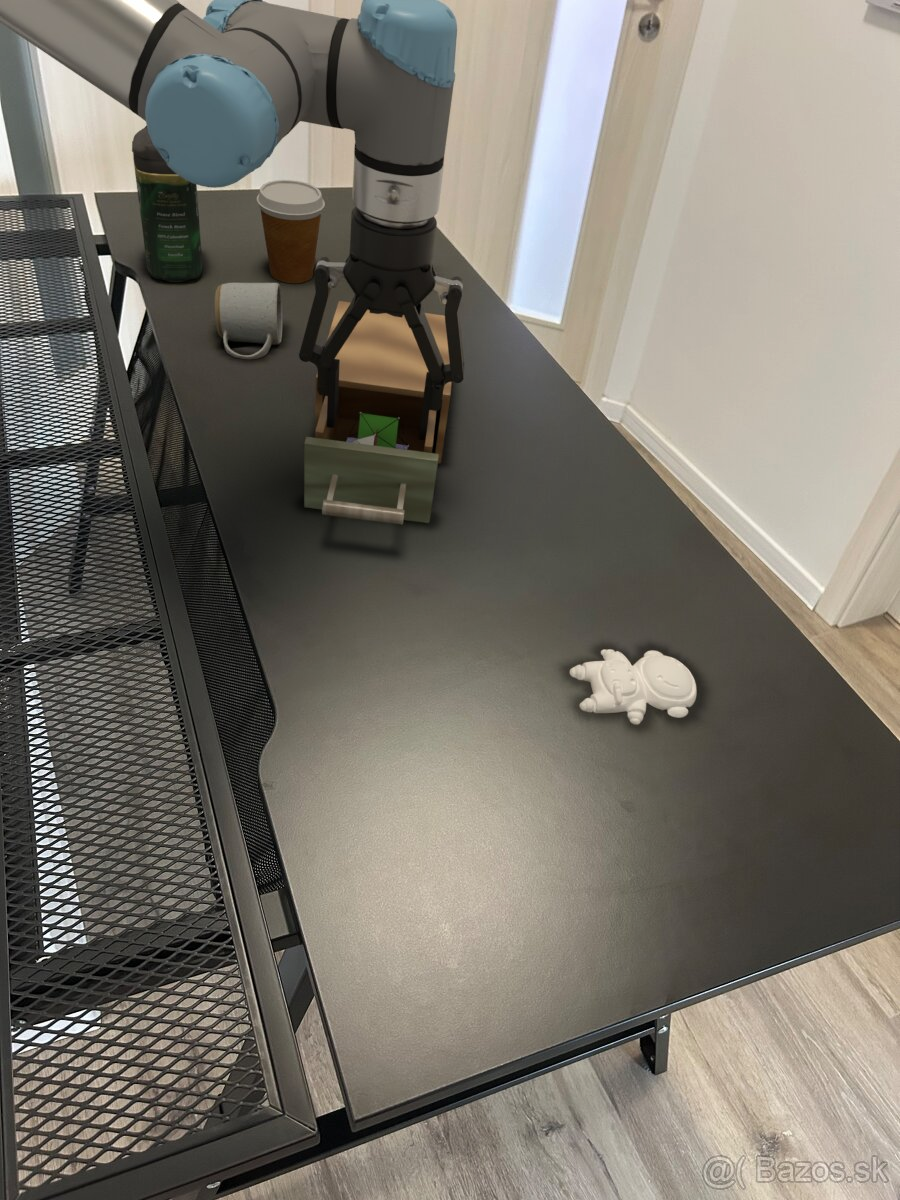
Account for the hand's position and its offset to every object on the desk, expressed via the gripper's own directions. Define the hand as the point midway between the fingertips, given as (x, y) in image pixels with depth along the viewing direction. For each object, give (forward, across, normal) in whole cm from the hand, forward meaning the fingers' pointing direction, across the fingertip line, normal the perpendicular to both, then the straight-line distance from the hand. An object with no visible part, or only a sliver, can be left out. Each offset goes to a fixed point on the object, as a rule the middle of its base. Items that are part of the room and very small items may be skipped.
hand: (377, 426), depth 90 cm
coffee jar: (+8, -34, +44) cm, 56 cm away
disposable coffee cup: (+8, -18, +48) cm, 52 cm away
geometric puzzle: (+6, 0, 0) cm, 6 cm away
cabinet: (+8, 0, +13) cm, 15 cm away
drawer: (+7, 0, -1) cm, 7 cm away
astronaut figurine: (+8, +27, -26) cm, 38 cm away
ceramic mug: (+8, -19, +26) cm, 34 cm away
